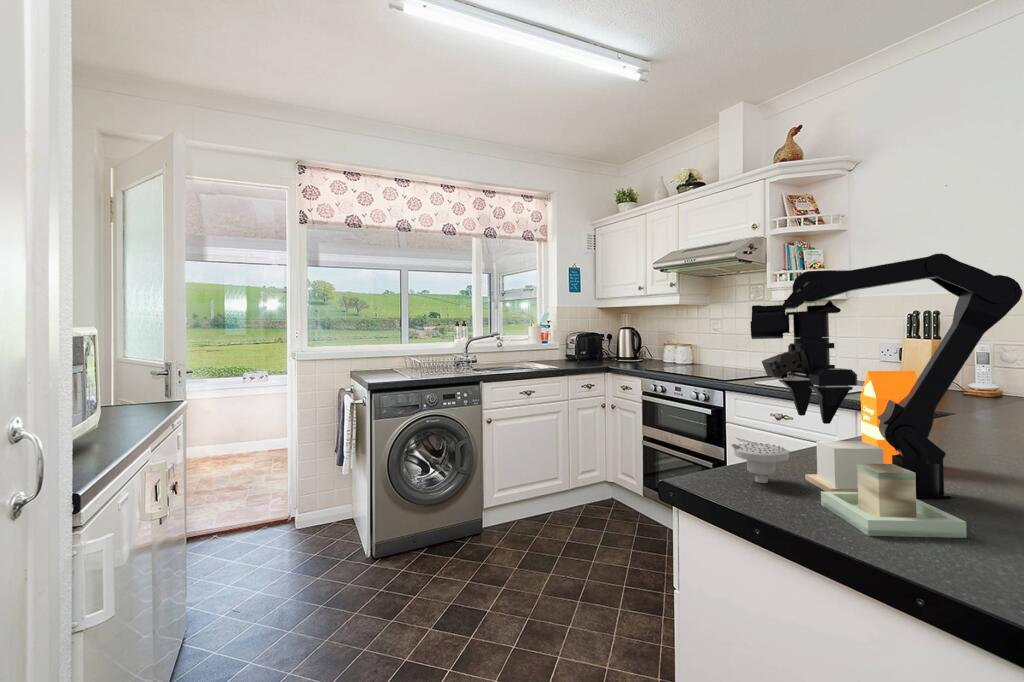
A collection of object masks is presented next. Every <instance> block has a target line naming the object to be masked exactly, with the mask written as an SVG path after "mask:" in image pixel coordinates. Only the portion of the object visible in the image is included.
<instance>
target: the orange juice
mask: <svg viewBox="0 0 1024 682" xmlns="http://www.w3.org/2000/svg"><path fill="white" fill-rule="evenodd" d="M918 378H919V376H918V375H917V371H916V370H868V371H867V374H866V378H865V380H864V383H863V386H862V390H861V393H860V408H861V409H860V415H861V421H860V427H861V428H860V429H861V441H863V442H866V443H869V444H872V445H875V446H877V447H880V448H883V456H884V464H892V455H897V454H899V453H898V452H897V451H896V450H895V448H894V447H892V446H891V445H890V444H889V443H888V442H887V441H886V440H885V439H884V438H883V437H882V435H881V434H880V431H879V423H880V420H879V419H878V418H877V417H878V416H880V415H881V414H882V413H883V412H884V410H885V408H886V405H887V403H888V401H889V400H892V401H894V402H895V403H899V402H900V401H901V400H902V399H904V398H905V397H906V396H907V395H908V394H909V392H910V390H911V389H912V387H913V386H914V384H915V383H916V381H917V379H918Z"/></svg>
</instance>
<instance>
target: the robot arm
mask: <svg viewBox="0 0 1024 682" xmlns="http://www.w3.org/2000/svg"><path fill="white" fill-rule="evenodd" d="M922 280H929V281H932V282H933V283H935V284H937V285H938V286H940V287H941V288H943V289H944V290H946V291H947V292H949V293H950V294H952V295H954V296H956V297H958V299H957V302H956V305H955V307H954V310H953V311H954V312H953V316H952V317H953V318H952V323H951V324H950V325H951V326H950V327H949V328H948V330H947V332H946V333H945V335H944V337H942V339H941V341H940V343H939V345H938V346H937V348H936V349H935V351H934V352H933V354H932V355H931V356H930V358H929V361H928V362H927V364H926V365H925V367H924V368H923V370H922V371H921V373H920V374H919V376H918V379H917V381H916V383H915V384H914V386H913V387H912V389H911V390H910V392H909V394H908V395H907V396H906V397H905V398H904V399H902V400H901V401H900V402H899V403H895V402H894V401H892V400H889V401H888V403H887V405H886V408H885V410H884V412H883V413H882V414H881V415H880V416H878V417H877V418H878V419H879V420H880V423H879V431H880V434H881V435H882V437H883V438H884V439H885V440H886V441H887V442H888V443H889V444H890V445H891V446H892V447H894V448H895V450H896V451H897V452H898V453H899V454H897V455H892V464H894V465H896V466H899V467H901V468H904V469H907V470H909V471H912V472H915V473H916V499H917V498H919V499H925V498H926V499H927V498H928V499H953V497H952V496H953V495H952V494H950V493H948V492H945V477H944V475H945V474H944V473H945V472H944V469H945V468H944V459H945V456H946V452H945V451H944V449H941V448H940V447H939V446H938V445H936V444H935V443H934V442H933V441H931V440H930V439H929V436H930V434H931V431H932V429H933V425H934V421H935V420H934V419H935V415H936V409H937V407H938V406H939V404H940V402H941V400H942V399H943V397H944V396H945V394H946V393H947V391H948V390H949V388H950V387H951V385H952V384H953V382H954V381H955V379H956V377H957V376H958V374H959V373H960V371H961V370H962V368H963V367H964V365H965V363H966V362H967V361H968V359H969V358H970V356H971V354H972V353H973V351H974V350H975V348H976V347H977V345H978V343H979V342H980V340H981V339H982V338H983V336H984V334H985V333H986V332H988V331H989V330H990V329H991V328H992V327H994V326H995V325H996V324H997V323H999V322H1000V321H1001V320H1002V319H1003V318H1004V317H1006V315H1007V314H1008V313H1009V312H1010V311H1011V310H1012V309H1013V308H1014V307H1015V306H1016V305H1017V304H1018V303H1019V301H1020V300H1021V298H1022V297H1023V289H1022V287H1021V285H1020V284H1019V282H1018V281H1017V280H1016V279H1015V278H1012V277H1010V276H1008V275H1002V274H996V275H994V274H991V273H990V272H988V271H985V270H983V269H981V268H978V267H975V266H973V265H971V264H967V263H965V262H962V261H959V260H957V259H955V258H954V257H951V256H950V255H949V254H946V253H941V252H940V253H934V254H932V255H929V256H925V257H919V258H913V259H907V260H902V261H901V260H900V261H897V262H896V261H895V262H891V263H884V264H879V265H878V264H877V265H874V266H873V265H872V266H868V267H862V268H857V269H849V270H835V269H833V270H830V269H829V270H826V269H825V270H809V271H805V272H802V273H800V274H799V275H798V276H797V277H796V278H795V279H794V281H793V284H792V291H791V293H790V294H789V296H788V297H787V298H786V299H784V300H783V301H784V302H783V303H782V304H777V305H776V304H775V305H760V304H759V305H757V304H755V305H754V304H753V305H752V306H751V321H750V337H751V340H767V339H769V340H771V339H772V340H776V339H784V334H790V332H791V331H790V316H792V318H793V319H792V320H793V322H792V323H793V325H792V326H793V343H789V345H787V347H788V348H787V351H785V352H782V353H779V354H776V355H774V356H771V357H769V358H766V359H763V360H761V364H762V367H763V369H764V370H765V374H766V376H767V377H772V378H776V379H778V381H779V383H781V384H783V385H784V386H785V387H786V388H788V391H789V393H790V395H791V397H792V400H793V404H794V406H795V409H796V411H797V414H798V415H799V416H800V417H801V416H805V415H806V413H807V410H808V408H809V404H810V400H811V396H812V394H813V392H814V393H816V395H817V398H818V405H819V410H820V411H819V412H820V417H821V421H822V424H825V425H826V424H827V425H829V424H831V423H832V420H833V419H834V416H835V415H836V413H837V412H838V410H839V408H840V406H841V405H842V403H843V402H844V400H845V398H846V397H847V395H848V393H849V392H850V391H852V390H853V388H854V387H856V386H858V374H857V373H856V372H855V371H854V370H853V369H851V368H842V367H841V368H840V367H839V368H838V367H837V368H836V365H835V364H830V363H831V359H830V357H831V356H830V355H831V353H830V349H835V342H830V331H829V330H830V329H829V325H830V324H829V323H830V321H829V314H838V313H840V312H841V310H842V309H841V308H840V307H837V306H836V305H835V304H834V303H833V302H832V300H828V301H827V302H826V303H825V304H817V305H816V304H815V305H807V306H806V311H804V310H803V311H786V310H795V309H797V308H798V307H801V306H803V304H813V303H817V302H820V301H823V300H826V299H830V298H832V297H836V296H839V295H843V294H846V293H848V292H853V291H857V290H864V289H871V288H876V287H883V286H889V285H895V284H896V285H897V284H902V283H907V282H908V283H909V282H916V281H922Z"/></svg>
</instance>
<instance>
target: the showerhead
mask: <svg viewBox="0 0 1024 682" xmlns="http://www.w3.org/2000/svg"><path fill="white" fill-rule="evenodd" d="M730 446H731V447H732V448H733V453H734V457H737V458H739V459H742V460H746V466H747V468H746V469H747V471H748V472H750V473H752V474H754V480H755V482H756V483H759V484H767V483H768V482H769V478H768V477H769V476H771V475H774V474H776V463H780V462H781V463H782V462H786V461H788V460H789V455H790V451H789V450H787V448H784V447H781V445H775V444H770V443H762V442H760V443H757V442H752V443H750V442H747V443H739V444H736V443H731V445H730Z"/></svg>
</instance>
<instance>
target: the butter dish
mask: <svg viewBox="0 0 1024 682" xmlns="http://www.w3.org/2000/svg"><path fill="white" fill-rule="evenodd" d="M857 464H884V456H883V448H880V447H877V446H875V445H872V444H869V443H866V442H863V441H862V440H838V441H837V440H835V441H834V440H833V441H832V440H828V441H827V440H818V441H817V440H816V467H817V468H816V474H812V473H811V474H808V473H805V476H804V477H805V480H806V481H807V482H809V483H811V484H813V485H814V486H815V487H817V488H819V489H821V490H823V492H858V474H857Z"/></svg>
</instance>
